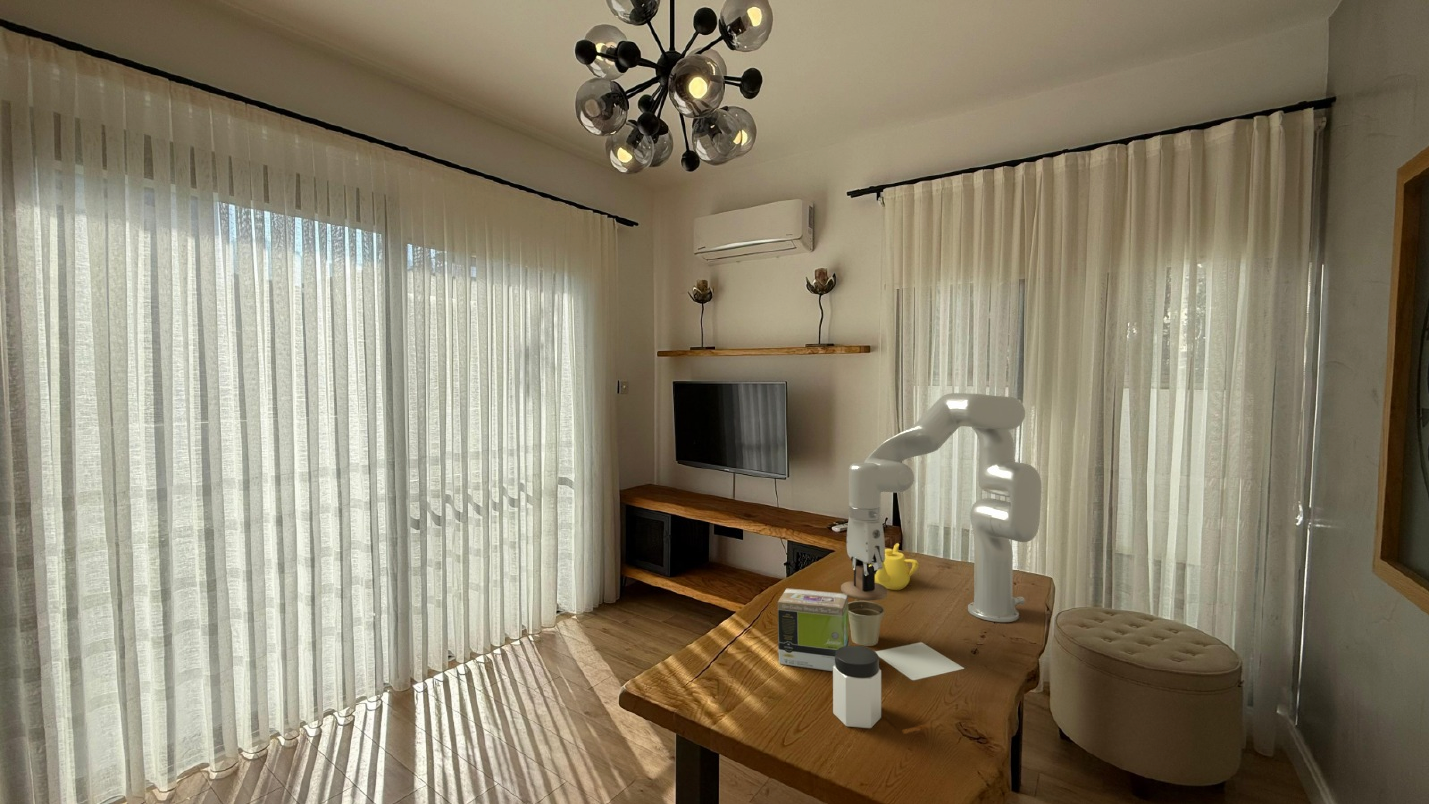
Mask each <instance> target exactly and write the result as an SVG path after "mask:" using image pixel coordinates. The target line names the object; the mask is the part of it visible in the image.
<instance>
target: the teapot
mask: <svg viewBox="0 0 1429 804" xmlns="http://www.w3.org/2000/svg"><path fill="white" fill-rule="evenodd" d="M899 547H900V544H899V543H898V542H897V543H895V544H894V546H893V549H891V548H885V561H884V562H882V566H883V568H882V569H880V570H878V571H877V572H876V574H875V583H878V584H881V585H883V586H885V587H886V588H887V590H891V591H900V590H902V589H904V588H906V587H907V586H908V585H909V583H910V580H911V576H912V575H913V574H914V573H915V572H916V571H917V570H918V568H919V561H918V560H916V559H912V558H911V559H910V558H909V559H908V558H906V556H905V554H904V553H902V552H899ZM908 563H909V564H911V565H912V566H911V568H909V564H908ZM868 566H869V567H870V566H871V565H868Z"/></svg>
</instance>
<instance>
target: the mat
mask: <svg viewBox="0 0 1429 804" xmlns="http://www.w3.org/2000/svg"><path fill="white" fill-rule="evenodd" d="M875 652H876V653H877V654H878V656H879V659H882V660H883V661H884V662H886V663H887V664H889V665H890V666H892V668H895V669H896V670H897V671H898V672H900V673H901V674H902V675H904V676H905V677H907V678H908V679H909V680H911V681H918V680H922V679H926V678H930V677H935V676H939V675H943V674H947V673H951V672H956V671H960V670H965V667H963V666H961V665H960V664H958V663H957V662H955V661H952V659H950V658H949V657H946V656H945V655H943V654H941V653H940V652H938V651H936V650H935V649H933V648H932V647H930V646H928V645H926V644H925V643H923V642H922V641H919V642H915V643H911V644H910V643H909V644H906V645H905V644H904V645H901V646H896V647H891V648H886V649H881V650H877V651H876V650H875Z"/></svg>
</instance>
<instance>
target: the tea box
mask: <svg viewBox="0 0 1429 804" xmlns="http://www.w3.org/2000/svg"><path fill="white" fill-rule="evenodd" d="M848 603H849V597H848V594H845V593H842V592H831V591H821V590H820V591H819V590H810V589H798V588H788V587H787V588H785V590H784V591H783V592H782V594H781V596H780V598H779V599H778V601H777V633H778V634H777V635H778V637H777V639H778V640H777V641H778V643H777V645H778V647H777V648H778V663H779V665H786V666H787V665H788V666H794V667H800V668H807V669H815V670H822V671H828V672H829V671H830V672H833V666H834V665H835V652H836V651H837V649H839V648H841V647H843V646H849V645H850V631H849V630H850V622H849V616H848Z"/></svg>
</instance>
